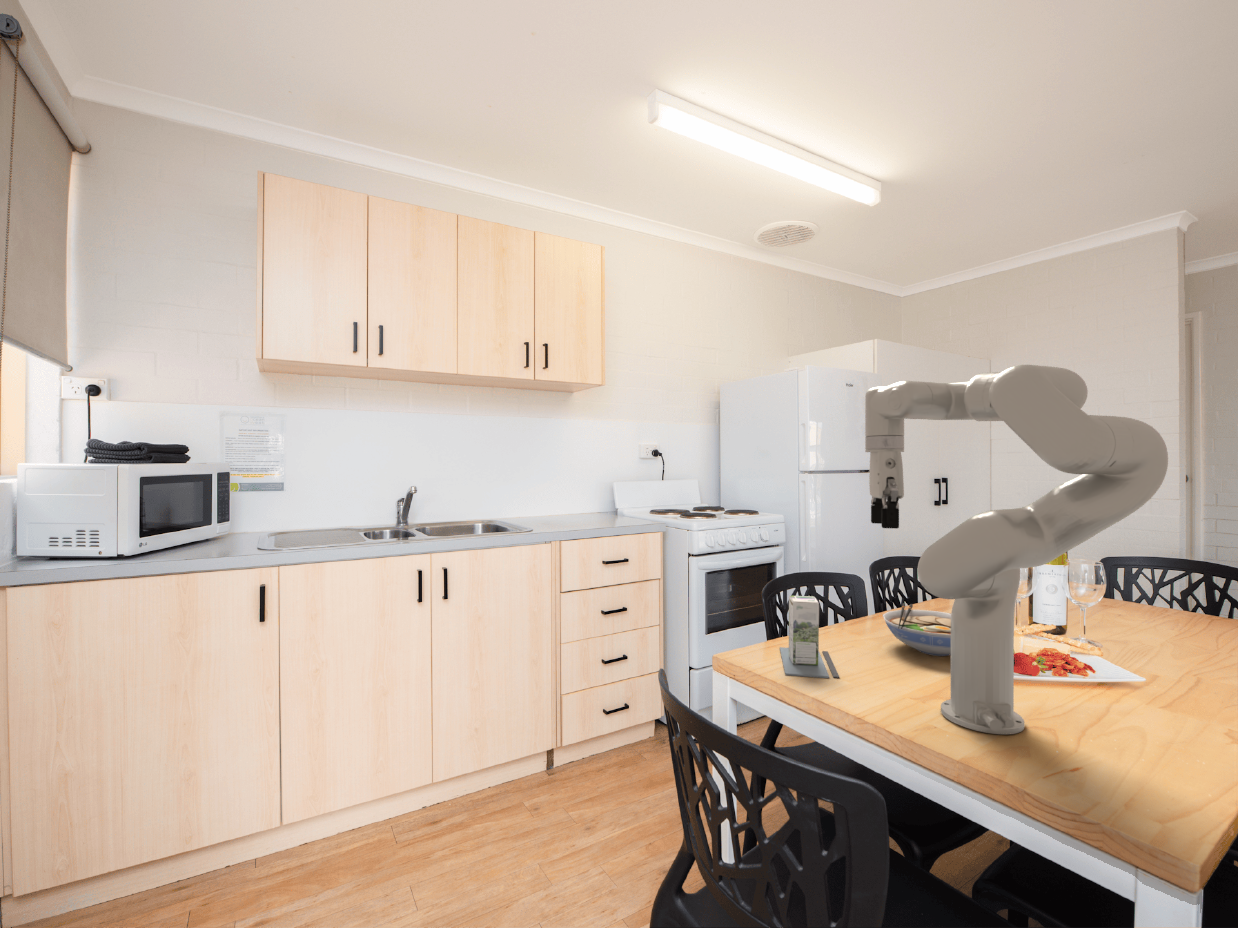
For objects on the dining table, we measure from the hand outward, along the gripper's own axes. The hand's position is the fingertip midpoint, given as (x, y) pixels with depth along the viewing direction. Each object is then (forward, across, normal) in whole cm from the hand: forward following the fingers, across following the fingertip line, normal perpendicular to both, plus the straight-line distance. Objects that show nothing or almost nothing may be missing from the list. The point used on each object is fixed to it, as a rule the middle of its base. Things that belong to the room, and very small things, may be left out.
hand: (884, 525), depth 123 cm
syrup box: (+32, +6, +16) cm, 36 cm away
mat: (+32, +6, +16) cm, 37 cm away
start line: (+32, +6, +10) cm, 34 cm away
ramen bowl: (+32, +21, -16) cm, 42 cm away
